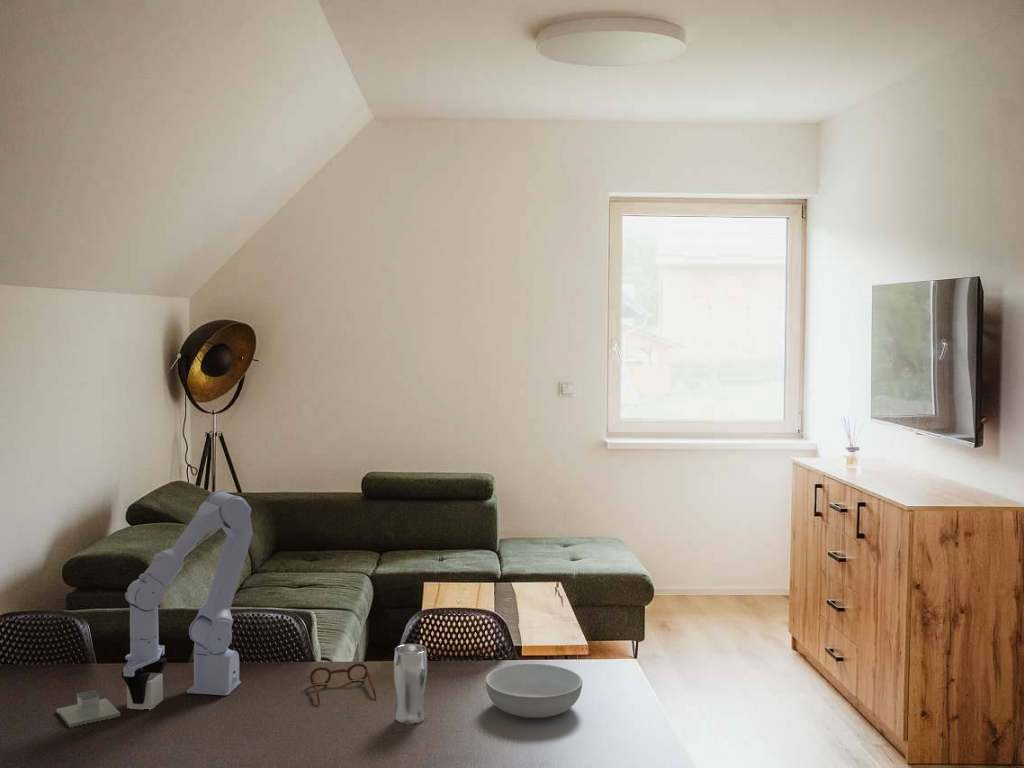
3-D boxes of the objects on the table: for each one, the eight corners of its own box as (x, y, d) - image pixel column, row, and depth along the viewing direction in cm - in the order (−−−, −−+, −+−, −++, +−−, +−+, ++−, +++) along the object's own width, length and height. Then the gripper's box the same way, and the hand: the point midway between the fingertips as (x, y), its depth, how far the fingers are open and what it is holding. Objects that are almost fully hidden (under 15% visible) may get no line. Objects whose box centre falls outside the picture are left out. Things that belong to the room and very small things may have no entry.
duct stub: (105, 701, 219) (105, 682, 219) (120, 716, 212) (120, 696, 211) (56, 712, 213) (56, 692, 213) (69, 728, 205) (69, 707, 205)
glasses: (367, 682, 234) (367, 661, 234) (378, 702, 222) (378, 680, 222) (309, 688, 230) (309, 666, 230) (317, 709, 218) (317, 686, 218)
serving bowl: (601, 709, 219) (602, 678, 218) (537, 738, 203) (537, 705, 203) (530, 685, 233) (530, 655, 232) (464, 710, 218) (465, 678, 217)
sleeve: (162, 700, 221) (162, 673, 220) (151, 709, 215) (150, 682, 215) (139, 698, 221) (139, 672, 221) (127, 708, 216) (126, 680, 215)
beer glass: (421, 727, 208) (421, 655, 207) (389, 723, 209) (389, 652, 208) (430, 714, 215) (431, 644, 214) (399, 711, 216) (399, 642, 215)
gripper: (142, 624, 225) (143, 684, 226) (109, 645, 211) (110, 709, 211) (173, 626, 224) (173, 686, 225) (141, 647, 210) (142, 711, 211)
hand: (145, 697), depth 218 cm, fingers closed on sleeve, 5 cm apart
